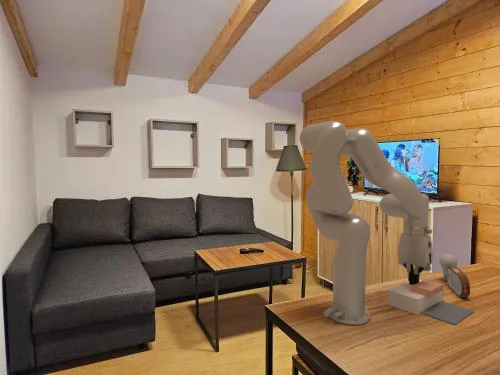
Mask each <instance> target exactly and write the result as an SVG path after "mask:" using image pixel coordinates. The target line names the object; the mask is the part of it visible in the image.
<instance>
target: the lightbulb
mask: <svg viewBox="0 0 500 375" xmlns="http://www.w3.org/2000/svg"><path fill="white" fill-rule="evenodd" d="M438 260H439V261H438V263H439V264H440V267H441V268H442V275H443V280H444V281H445V282H446V283H448V281H447V269H448V268H449V267H458V266H457V265H458V260H457V258H456V256H454V255H453V254H450V253H444V254H442V255H441V256H440V257H439V259H438Z"/></svg>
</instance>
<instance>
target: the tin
mask: <svg viewBox="0 0 500 375" xmlns="http://www.w3.org/2000/svg"><path fill="white" fill-rule="evenodd" d="M447 281H448V282H447ZM447 281H446V282H447V285H448V286H449V289H451V291H453V293H454V294H456V296H457V297H459V298H467V299H468V298H469V297H470V295H471V285H470V280H469V278H468V275H467V274H466V273H465V272H464V271H463V270H462V269H460V268H459V267H458V266H456V267H449V268H448V269H447Z"/></svg>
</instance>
